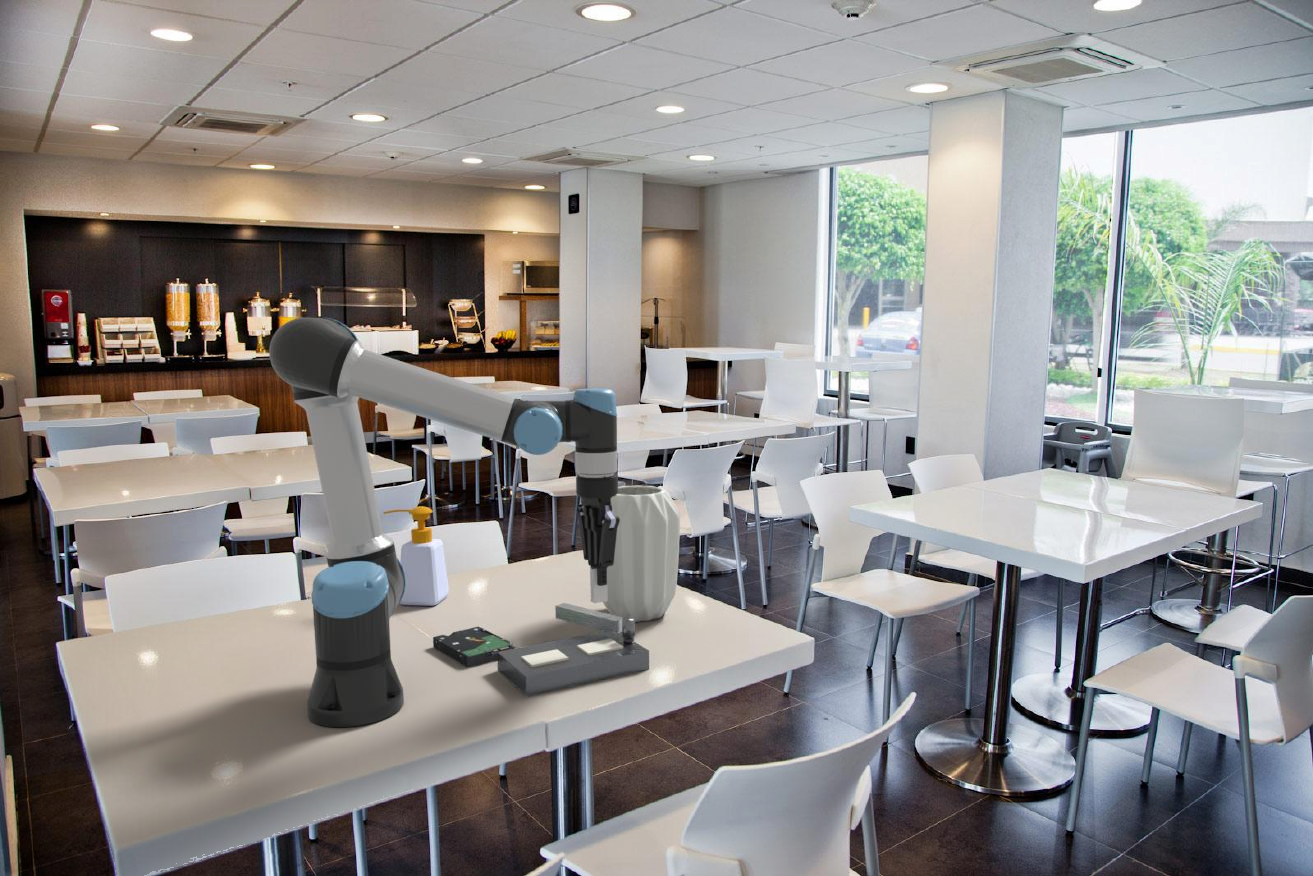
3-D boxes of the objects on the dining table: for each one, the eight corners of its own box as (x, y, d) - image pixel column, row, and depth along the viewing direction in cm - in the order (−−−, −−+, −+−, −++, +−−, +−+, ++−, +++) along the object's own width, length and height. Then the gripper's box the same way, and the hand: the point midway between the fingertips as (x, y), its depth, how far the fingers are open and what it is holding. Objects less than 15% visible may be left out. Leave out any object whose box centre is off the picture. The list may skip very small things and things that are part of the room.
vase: (631, 634, 186) (629, 502, 183) (575, 613, 200) (572, 490, 197) (700, 614, 198) (699, 490, 195) (642, 595, 213) (641, 479, 210)
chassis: (526, 696, 155) (525, 672, 154) (497, 670, 167) (497, 647, 166) (649, 669, 167) (649, 646, 166) (614, 646, 179) (613, 625, 178)
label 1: (531, 667, 159) (531, 665, 159) (521, 658, 163) (521, 656, 163) (568, 659, 162) (568, 657, 162) (557, 651, 166) (557, 649, 166)
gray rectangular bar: (637, 635, 171) (637, 618, 171) (629, 639, 169) (628, 621, 169) (564, 616, 183) (564, 600, 183) (555, 619, 181) (555, 603, 181)
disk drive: (432, 651, 180) (468, 670, 168) (431, 637, 179) (468, 656, 168) (478, 639, 186) (517, 657, 175) (478, 625, 186) (516, 643, 175)
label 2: (588, 655, 164) (588, 653, 164) (577, 647, 168) (577, 645, 168) (623, 648, 168) (623, 646, 167) (610, 640, 172) (610, 638, 172)
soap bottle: (395, 594, 217) (391, 502, 214) (451, 595, 215) (448, 503, 212) (378, 605, 207) (373, 510, 205) (436, 607, 205) (432, 511, 203)
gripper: (632, 477, 160) (634, 607, 163) (599, 467, 172) (601, 589, 174) (593, 480, 157) (596, 613, 159) (562, 471, 168) (565, 595, 171)
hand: (599, 601), depth 167 cm, fingers closed
